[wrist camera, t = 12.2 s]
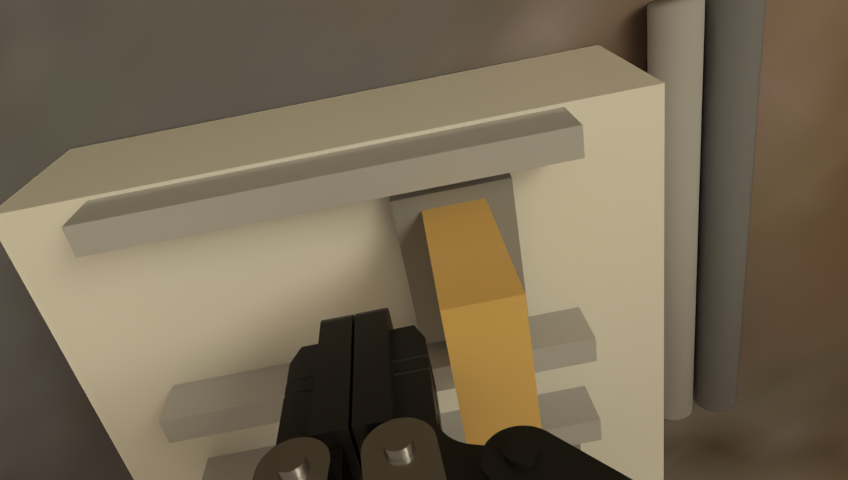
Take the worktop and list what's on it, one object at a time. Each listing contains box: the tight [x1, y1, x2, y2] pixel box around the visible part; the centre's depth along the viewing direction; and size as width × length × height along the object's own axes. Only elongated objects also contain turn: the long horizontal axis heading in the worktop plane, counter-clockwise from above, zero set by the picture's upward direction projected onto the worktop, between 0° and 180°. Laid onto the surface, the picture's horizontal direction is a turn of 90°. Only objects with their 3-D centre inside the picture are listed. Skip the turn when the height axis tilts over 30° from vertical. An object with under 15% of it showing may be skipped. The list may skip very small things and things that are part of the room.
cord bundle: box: [647, 0, 766, 420], centre depth 22 cm, size 3×16×2 cm, turn 10°
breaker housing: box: [0, 45, 665, 480], centre depth 21 cm, size 17×16×6 cm
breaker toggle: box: [390, 173, 542, 445], centre depth 15 cm, size 3×4×5 cm
